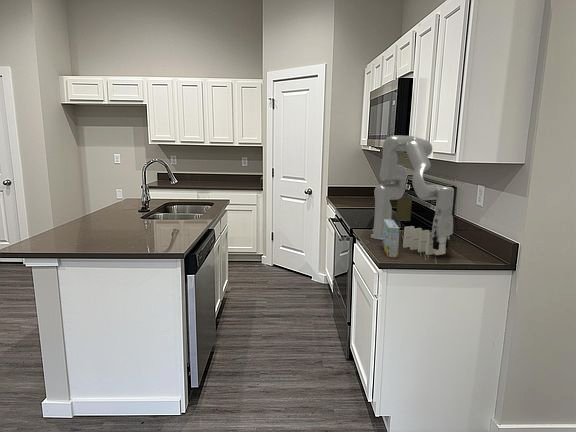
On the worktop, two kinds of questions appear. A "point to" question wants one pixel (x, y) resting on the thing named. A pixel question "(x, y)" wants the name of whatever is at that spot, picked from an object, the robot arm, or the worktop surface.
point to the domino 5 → (441, 245)
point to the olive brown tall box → (404, 207)
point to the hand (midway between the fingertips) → (440, 248)
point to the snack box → (390, 238)
